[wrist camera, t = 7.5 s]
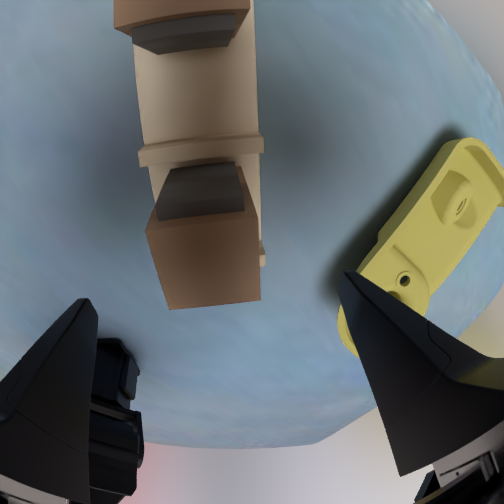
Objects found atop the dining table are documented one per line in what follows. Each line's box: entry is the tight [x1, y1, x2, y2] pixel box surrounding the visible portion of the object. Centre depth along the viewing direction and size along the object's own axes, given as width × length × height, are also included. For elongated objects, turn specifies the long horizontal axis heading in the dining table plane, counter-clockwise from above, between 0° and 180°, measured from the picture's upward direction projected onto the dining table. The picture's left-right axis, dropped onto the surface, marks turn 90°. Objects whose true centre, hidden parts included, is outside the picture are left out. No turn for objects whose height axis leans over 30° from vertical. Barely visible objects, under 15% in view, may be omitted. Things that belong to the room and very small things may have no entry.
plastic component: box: [337, 137, 504, 358], centre depth 21 cm, size 20×7×10 cm
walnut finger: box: [145, 161, 261, 310], centre depth 13 cm, size 4×5×6 cm
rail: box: [114, 0, 266, 266], centre depth 11 cm, size 6×17×8 cm, turn 2°
